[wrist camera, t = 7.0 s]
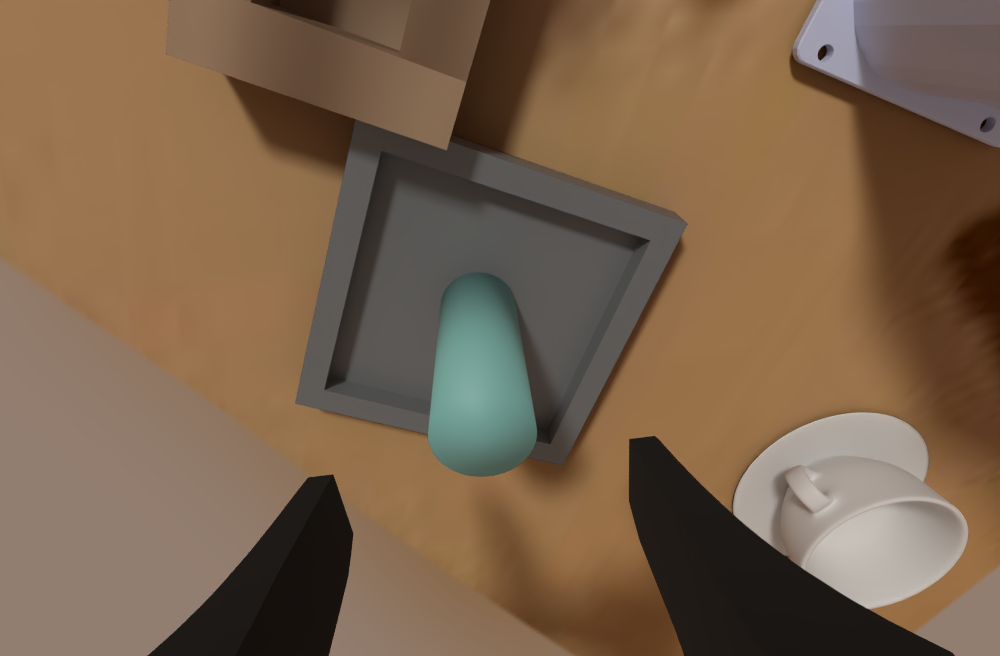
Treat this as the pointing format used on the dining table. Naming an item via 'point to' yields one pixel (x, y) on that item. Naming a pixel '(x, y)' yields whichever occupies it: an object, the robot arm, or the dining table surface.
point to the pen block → (342, 54)
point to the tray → (468, 249)
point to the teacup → (854, 507)
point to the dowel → (480, 380)
